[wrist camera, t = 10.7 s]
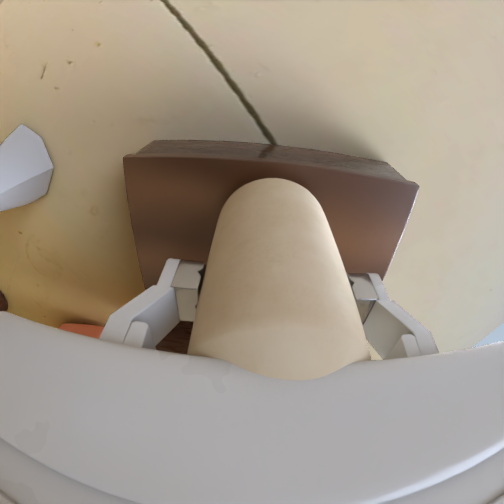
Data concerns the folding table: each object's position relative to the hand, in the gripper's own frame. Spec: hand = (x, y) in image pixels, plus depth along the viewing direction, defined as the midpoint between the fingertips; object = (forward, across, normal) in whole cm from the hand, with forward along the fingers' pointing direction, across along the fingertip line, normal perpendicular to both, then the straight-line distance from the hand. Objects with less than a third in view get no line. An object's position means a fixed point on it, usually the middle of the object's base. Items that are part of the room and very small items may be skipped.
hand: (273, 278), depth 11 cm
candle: (+4, 0, 0) cm, 4 cm away
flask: (+10, +21, -2) cm, 23 cm away
